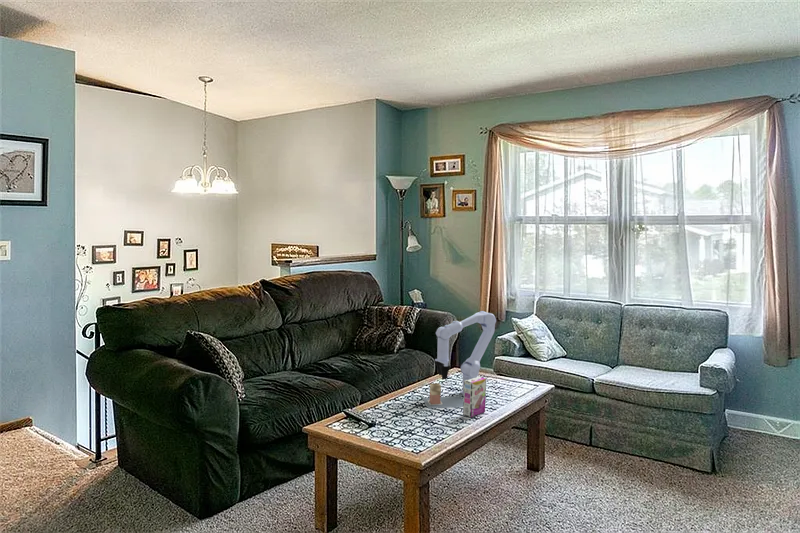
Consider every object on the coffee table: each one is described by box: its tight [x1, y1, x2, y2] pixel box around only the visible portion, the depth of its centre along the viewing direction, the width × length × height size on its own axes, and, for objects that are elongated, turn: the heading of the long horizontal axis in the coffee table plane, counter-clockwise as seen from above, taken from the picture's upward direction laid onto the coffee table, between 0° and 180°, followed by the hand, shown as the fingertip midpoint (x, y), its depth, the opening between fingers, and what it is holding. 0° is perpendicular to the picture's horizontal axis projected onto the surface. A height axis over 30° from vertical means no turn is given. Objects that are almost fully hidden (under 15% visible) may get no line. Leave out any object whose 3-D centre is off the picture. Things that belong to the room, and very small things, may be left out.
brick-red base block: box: [429, 392, 441, 404], centre depth 273 cm, size 4×4×4 cm
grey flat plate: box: [421, 395, 464, 409], centre depth 274 cm, size 20×16×1 cm
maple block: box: [429, 382, 442, 396], centre depth 272 cm, size 4×4×4 cm
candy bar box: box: [462, 376, 487, 418], centre depth 257 cm, size 11×5×16 cm, turn 134°
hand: (442, 376), depth 282 cm, fingers open, 7 cm apart
